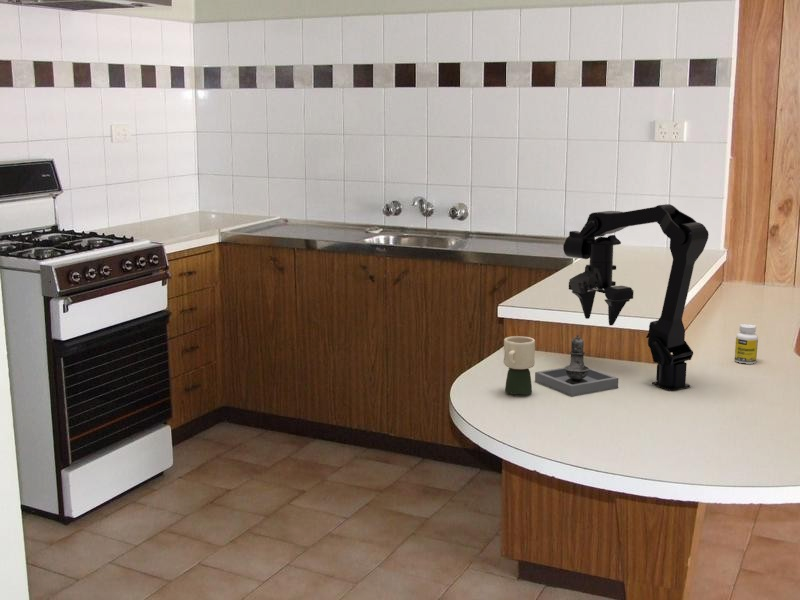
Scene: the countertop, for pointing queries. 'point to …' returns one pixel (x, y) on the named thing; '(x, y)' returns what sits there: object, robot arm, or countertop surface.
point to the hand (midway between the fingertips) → (599, 321)
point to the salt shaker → (576, 363)
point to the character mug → (519, 363)
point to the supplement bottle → (746, 344)
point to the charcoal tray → (594, 384)
